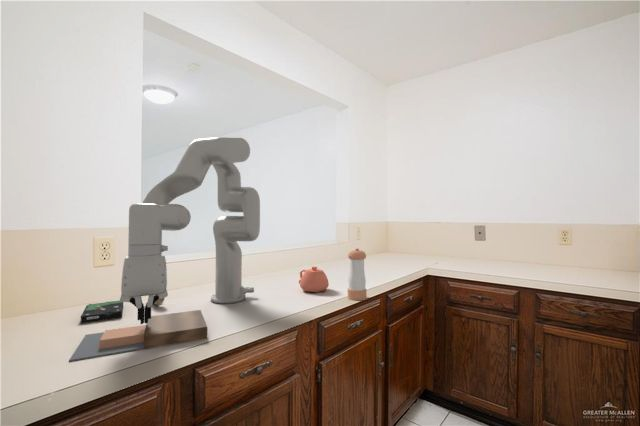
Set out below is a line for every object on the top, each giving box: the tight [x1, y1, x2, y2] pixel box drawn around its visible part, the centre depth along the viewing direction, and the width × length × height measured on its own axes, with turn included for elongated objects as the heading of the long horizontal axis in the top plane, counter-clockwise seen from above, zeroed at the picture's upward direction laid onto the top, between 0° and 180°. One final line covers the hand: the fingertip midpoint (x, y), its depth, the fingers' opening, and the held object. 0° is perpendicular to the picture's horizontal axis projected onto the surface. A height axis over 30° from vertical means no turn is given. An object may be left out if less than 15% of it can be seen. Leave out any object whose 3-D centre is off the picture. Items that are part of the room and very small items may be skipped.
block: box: [99, 324, 146, 349], centre depth 76 cm, size 9×7×2 cm
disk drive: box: [80, 300, 124, 324], centre depth 98 cm, size 10×3×15 cm
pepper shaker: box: [347, 248, 367, 301], centre depth 118 cm, size 7×7×19 cm
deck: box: [143, 309, 208, 350], centre depth 82 cm, size 14×16×3 cm
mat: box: [68, 331, 145, 363], centre depth 75 cm, size 14×16×1 cm
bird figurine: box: [151, 298, 165, 308], centre depth 106 cm, size 5×5×6 cm
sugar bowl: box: [298, 266, 329, 293], centre depth 131 cm, size 12×14×10 cm
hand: (144, 322), depth 79 cm, fingers closed
